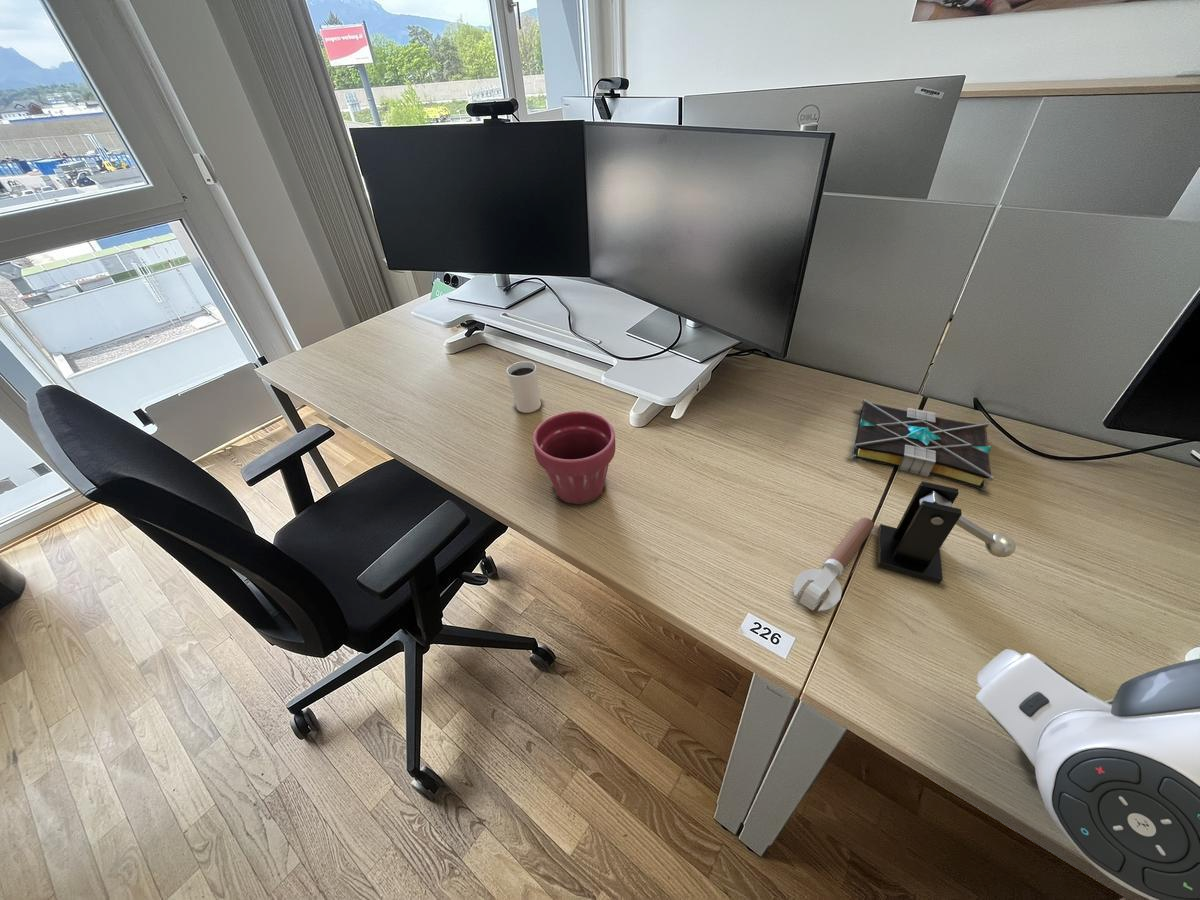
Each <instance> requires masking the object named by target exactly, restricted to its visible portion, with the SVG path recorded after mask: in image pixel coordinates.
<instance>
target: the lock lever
mask: <svg viewBox="0 0 1200 900" xmlns="http://www.w3.org/2000/svg"><path fill="white" fill-rule="evenodd" d="M919 501H920V505H921V503H922V501H928V502H932V503H936V504H941V505H945V506H949V507H953V504H952V503H951V501H949V500H948V499H946V498H944V497H943V496H941V495H939V494H938V493H936V492H934V491H933V492H931V493H930V494H928V495H926V496H925V497H923V498H921V499H920V500H919ZM955 526H957V527H959V528H961V529H962V530H964V531H966V532H967V533H969V534H971V535H972V536H974V537H975V538H977V539H979V540H980V541H982V542H984V548H985V550H986V551H987V552H988V553H989V554H990V555H992V556H994V557H998V558H1007V557H1010V556H1012V555H1013V554H1014V553H1015V551H1016V547H1017V546H1016V542H1015V541H1014V539H1013V538H1012V537H1011V536H1009V535H1007V534H1005V533H990V532H989V531H988V530H986V529H984V528H983V527H981V526H979V525H978V524H976V523H974V522H972V521H971V520H969V519H967V518H966V517H965V516H963V515H961V516H960V518H959V519H958V521H957V522H956V524H955Z"/></svg>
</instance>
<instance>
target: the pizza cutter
mask: <svg viewBox="0 0 1200 900" xmlns="http://www.w3.org/2000/svg"><path fill="white" fill-rule="evenodd" d="M874 528H875V523H874V521H873V520H872V519H871V518H869V517H861V518H859V520H858V521H857V522H856V523H855V525H854V526H853V528H852V529H851V530H850V531H849V533H847V535H846V537H845V538H844V539H843V540H842V542H841V543H840V545H838V547H837V548H836V549H835V551H834V552H833V553H832V555H831V556H830V557H829V558H828V559H827V560H826V561H825V562H824V563H823V564H822V569H820V568H809V569H805V570H803V571H802V572H800V573H799V574H798V576H797V577H796V578H795V580H794V583H793V587H792V588H793V589H792V590H793V595H794V597H797V595H798V594H799V593H800V592H801V590H802V589H803V588H804V587H805V586H806V584H807V583H809V582H810V583H809V584H808V585H807V587H806V588H805V590H804V591H803V593H802V595H801V596H800V598H799V603H800V604H802V605H803V606H805V607H806V608H808V609H810V610H811V611H814V610H815V609H816V608H817V606H818V605H819V603H820V602H821V600H822V598H823V597H824V594H825V593H826V591H827V593H828V596H827V597H826V598H825V600H824V601H823V602H822V603H821V605H820V607H819V608H818V610H817V612H824V611H829V610H831V609H833V608H835V606H836V605H837V604H838V603H839V602H840V600H841V599H842V593H843V590H842V586H841V583H840V582H839V580H838V578H839V577H841V576H842V574H843V572H844V569H845V568H846V566H848V564H849V562H850V561H851V560H852V558H853V557H854V556H855V554H856V553H857V552H858V551H859V549H860V547H861V546H862V545H863V543H864V542H865V540H866V539H867V538H868V536H869V535H870V534H871V532H872V531H873V529H874Z"/></svg>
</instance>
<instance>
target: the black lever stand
mask: <svg viewBox="0 0 1200 900" xmlns="http://www.w3.org/2000/svg"><path fill="white" fill-rule="evenodd" d="M933 491H934V492H936V493H938V494H939V495H941V496H943V497H944V498H946V499H948V500H949V501H951V503H952V505H953V504H954V503H955V502H956V499H957V498H958V497H959V495H960V493H959V492H960V491H959V488H957V487H956V488H955V487H950V486H946V485H942V484H937V483H932V482H927V481H923V480H921V481H920V483H919V485H918V487H917V489H916V490H915V492H914V494H913V496H912V498H911V500H910V502H909V503H908V505H907V508H906V510H905V511H904V513H903V515H902V517H901V519H900V520H899V523H898V524H897V527H893V526H890V525H886V524H882V523H881V524H879V527H878V530H877V568H880V569H884V570H887V571H891V572H895V573H898V574H901V575H905V576H909V577H912V578H915V579H919V580H923V581H927V582H930V583H933V584H936V585H940V584H941V583H942V581H943V580H944V579H943V570H942V560H941V547H942V546H943V544H944V543H945V542H946V539H948V536H949V535H950V533H951V532H952V530H953V528H954V527H955V526H956V522H957V521H958V519H959V518H960V516H963V515H962V514H963V513H962V508H957V507H953V506H952V507H949V506H945V505H941V504H936V503H932V502H928V501H922V503H921V505H920V501H919V500H920V499H921V498H923V497H925V496H926V495H928V494H930V493H931V492H933Z"/></svg>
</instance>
